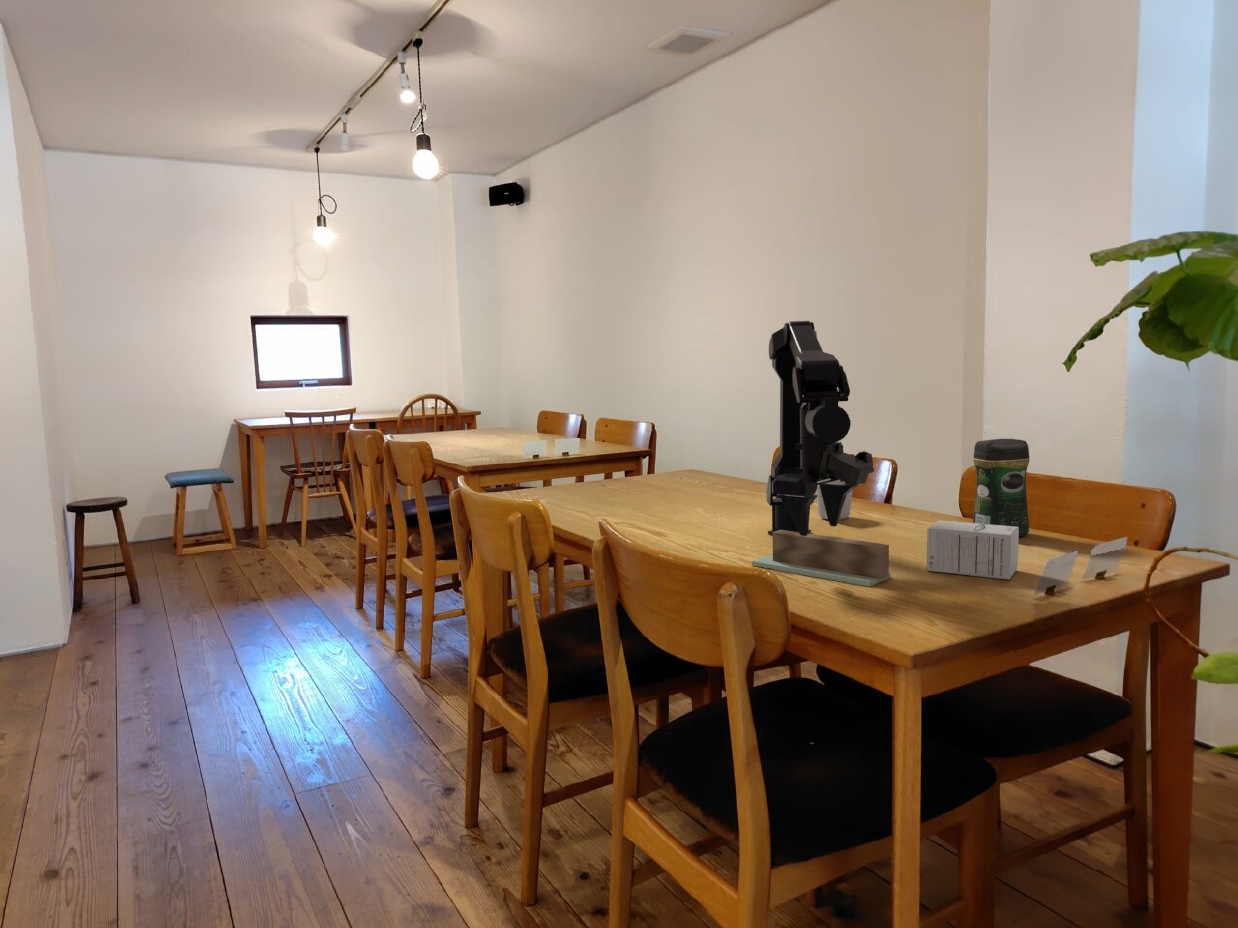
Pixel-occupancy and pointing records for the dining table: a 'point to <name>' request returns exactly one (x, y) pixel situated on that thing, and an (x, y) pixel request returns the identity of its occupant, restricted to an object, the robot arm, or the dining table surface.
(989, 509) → the coffee jar
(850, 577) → the tool mat
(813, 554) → the wooden plank
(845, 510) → the cup
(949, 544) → the supplement box
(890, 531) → the dining table surface
